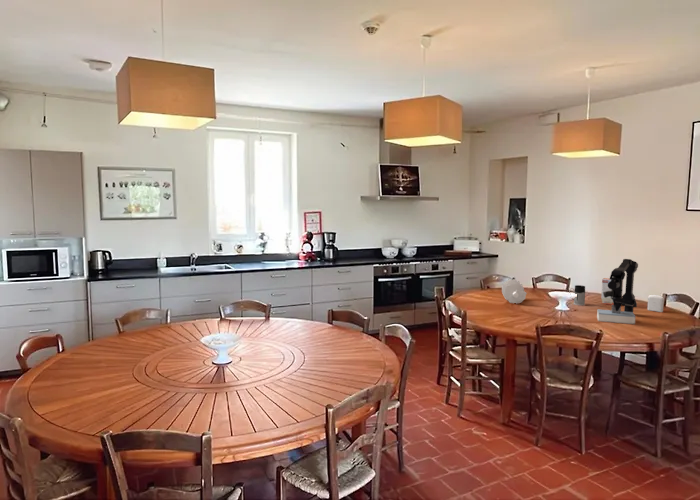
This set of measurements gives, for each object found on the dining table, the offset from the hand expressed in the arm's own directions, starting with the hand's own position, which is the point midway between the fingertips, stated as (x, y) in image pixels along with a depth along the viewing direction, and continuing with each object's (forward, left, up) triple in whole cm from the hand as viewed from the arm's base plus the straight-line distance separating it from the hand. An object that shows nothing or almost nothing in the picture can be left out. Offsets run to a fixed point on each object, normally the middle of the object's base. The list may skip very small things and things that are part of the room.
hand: (616, 309), depth 321 cm
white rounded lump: (-37, -71, -8) cm, 81 cm away
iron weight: (0, 0, -2) cm, 2 cm away
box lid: (0, 0, -3) cm, 3 cm away
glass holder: (-45, -23, -8) cm, 51 cm away
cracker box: (-56, +3, -8) cm, 57 cm away
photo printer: (-44, +31, -8) cm, 54 cm away
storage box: (0, 0, -8) cm, 8 cm away
